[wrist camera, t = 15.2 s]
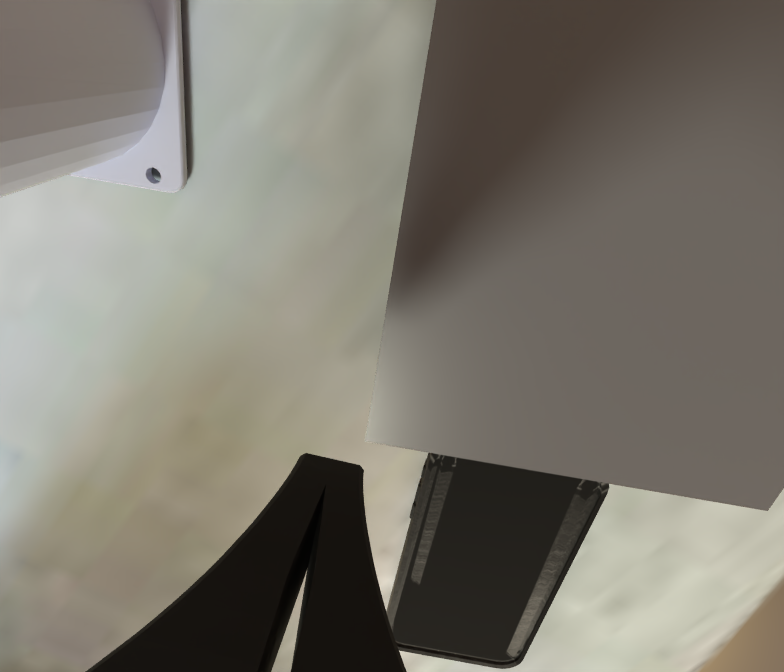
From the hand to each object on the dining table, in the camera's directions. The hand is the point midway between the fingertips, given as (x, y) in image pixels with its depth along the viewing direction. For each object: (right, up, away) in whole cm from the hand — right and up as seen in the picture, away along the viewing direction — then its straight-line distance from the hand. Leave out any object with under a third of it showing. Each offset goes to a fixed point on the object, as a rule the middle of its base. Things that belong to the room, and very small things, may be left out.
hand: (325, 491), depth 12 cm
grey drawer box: (+8, +7, +6) cm, 13 cm away
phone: (+6, -7, +15) cm, 18 cm away
